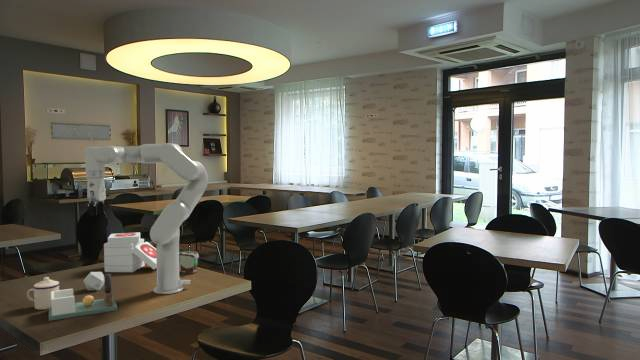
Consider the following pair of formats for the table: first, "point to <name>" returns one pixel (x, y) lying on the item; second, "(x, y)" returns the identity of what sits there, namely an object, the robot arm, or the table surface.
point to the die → (94, 281)
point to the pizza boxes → (128, 253)
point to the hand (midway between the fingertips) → (96, 214)
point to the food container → (188, 261)
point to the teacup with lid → (43, 293)
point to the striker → (107, 289)
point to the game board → (74, 306)
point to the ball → (88, 300)
